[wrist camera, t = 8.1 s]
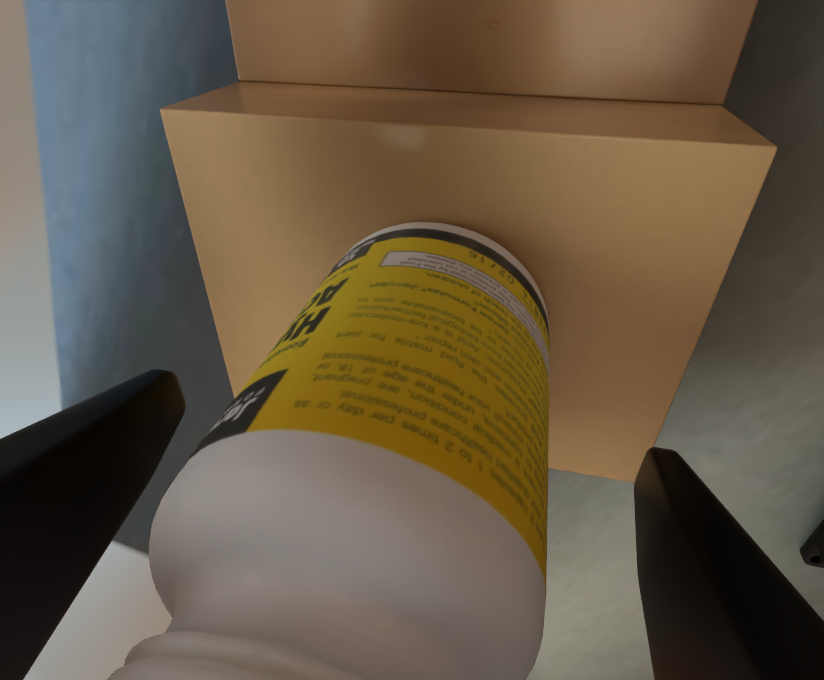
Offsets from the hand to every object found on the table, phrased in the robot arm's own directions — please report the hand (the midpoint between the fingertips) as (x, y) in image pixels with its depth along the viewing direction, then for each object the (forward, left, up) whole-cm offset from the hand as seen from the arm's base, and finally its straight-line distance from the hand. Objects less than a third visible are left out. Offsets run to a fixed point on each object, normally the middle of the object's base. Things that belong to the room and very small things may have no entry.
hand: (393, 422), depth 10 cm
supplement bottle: (0, 0, -4) cm, 4 cm away
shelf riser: (0, -3, -10) cm, 10 cm away
